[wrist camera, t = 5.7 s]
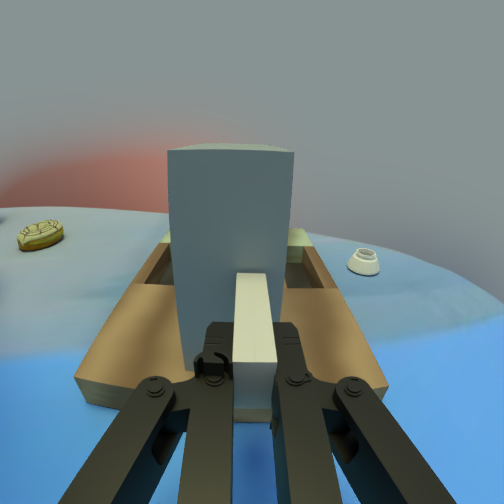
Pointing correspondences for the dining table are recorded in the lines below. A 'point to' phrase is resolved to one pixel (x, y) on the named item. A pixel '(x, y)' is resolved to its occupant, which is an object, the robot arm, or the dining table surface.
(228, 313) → the grey block
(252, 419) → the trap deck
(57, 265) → the dining table surface
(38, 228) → the decorated donut
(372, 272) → the white jar
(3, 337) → the dining table surface
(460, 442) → the dining table surface
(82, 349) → the dining table surface
